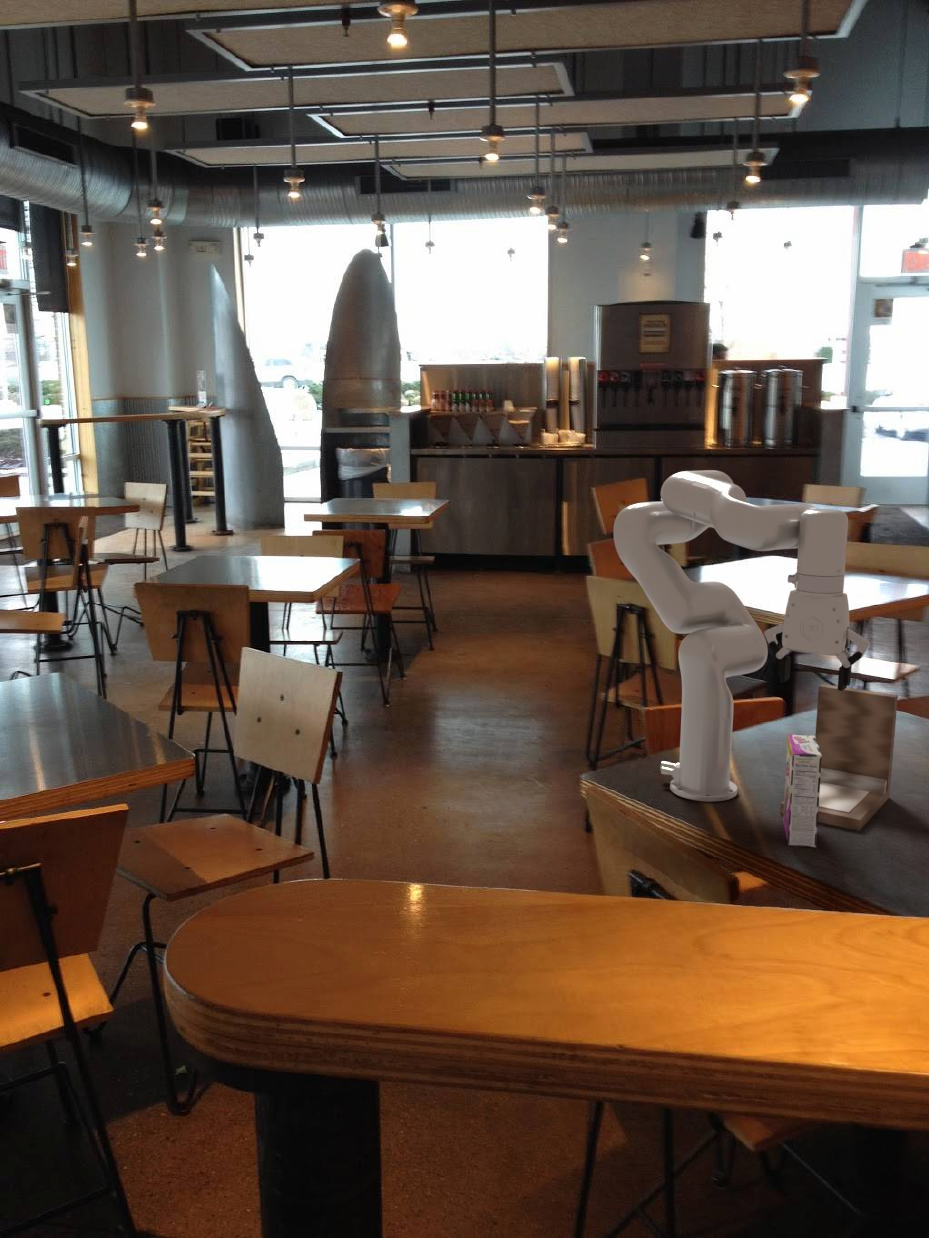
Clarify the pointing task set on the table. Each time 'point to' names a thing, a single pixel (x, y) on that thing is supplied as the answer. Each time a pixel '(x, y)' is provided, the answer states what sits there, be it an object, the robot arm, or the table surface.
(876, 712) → the display stand
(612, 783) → the table surface
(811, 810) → the candy bar box
